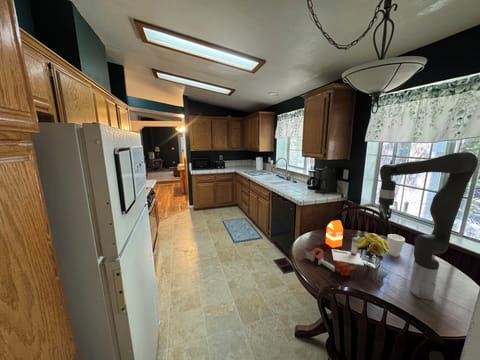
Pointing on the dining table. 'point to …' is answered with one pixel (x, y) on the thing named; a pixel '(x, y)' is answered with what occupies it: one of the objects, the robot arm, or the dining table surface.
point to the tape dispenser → (319, 258)
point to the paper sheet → (346, 257)
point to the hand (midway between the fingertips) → (383, 221)
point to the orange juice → (334, 234)
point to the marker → (354, 246)
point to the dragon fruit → (344, 268)
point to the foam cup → (395, 244)
